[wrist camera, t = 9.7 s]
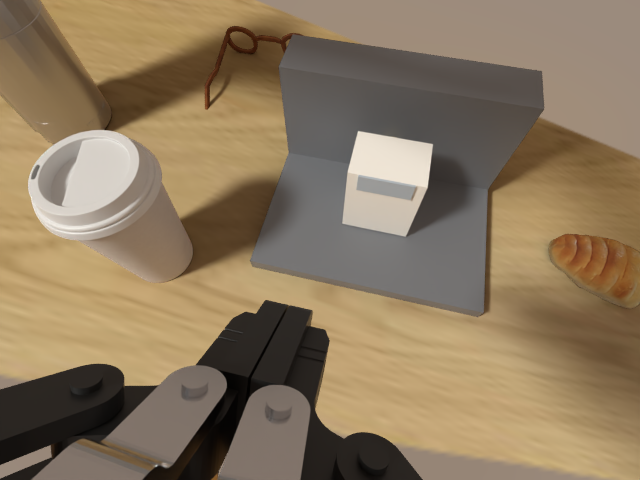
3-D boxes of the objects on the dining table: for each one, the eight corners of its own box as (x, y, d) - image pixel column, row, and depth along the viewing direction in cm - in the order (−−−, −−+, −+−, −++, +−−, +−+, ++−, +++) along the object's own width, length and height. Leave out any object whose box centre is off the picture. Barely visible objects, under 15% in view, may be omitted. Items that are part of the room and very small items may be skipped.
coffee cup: (148, 208, 43) (70, 110, 30) (221, 231, 41) (174, 138, 28) (101, 280, 39) (-15, 203, 25) (180, 308, 37) (101, 243, 24)
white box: (341, 225, 40) (347, 174, 32) (351, 187, 42) (358, 131, 34) (405, 238, 39) (427, 189, 31) (411, 198, 41) (433, 144, 33)
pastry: (537, 275, 39) (558, 260, 36) (550, 227, 42) (571, 209, 38) (630, 315, 37) (661, 304, 34) (638, 262, 40) (667, 246, 36)
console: (252, 266, 39) (222, 196, 27) (299, 131, 48) (292, 34, 36) (477, 316, 37) (553, 263, 25) (483, 164, 46) (541, 71, 34)
